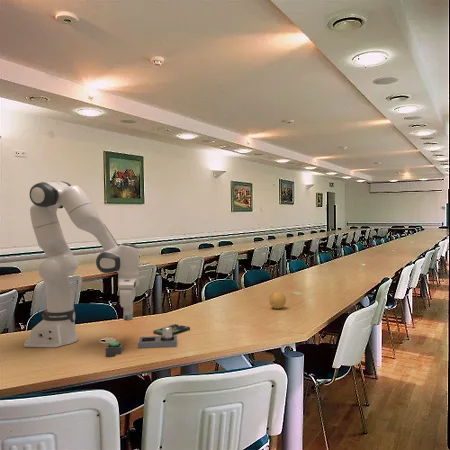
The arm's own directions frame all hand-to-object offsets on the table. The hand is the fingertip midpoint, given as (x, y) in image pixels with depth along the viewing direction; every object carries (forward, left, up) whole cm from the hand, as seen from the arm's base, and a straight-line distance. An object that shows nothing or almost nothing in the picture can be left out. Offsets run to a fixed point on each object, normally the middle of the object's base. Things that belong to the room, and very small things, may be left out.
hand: (128, 313), depth 186 cm
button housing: (-4, -10, -14) cm, 18 cm away
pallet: (+13, -2, -14) cm, 19 cm away
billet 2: (+17, -2, -13) cm, 21 cm away
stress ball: (+78, +60, -14) cm, 99 cm away
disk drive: (+18, +17, -15) cm, 29 cm away
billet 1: (0, 0, -3) cm, 3 cm away
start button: (-4, -10, -11) cm, 15 cm away
